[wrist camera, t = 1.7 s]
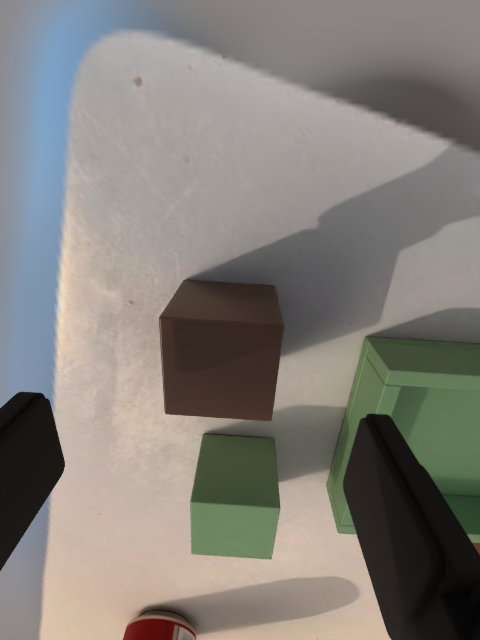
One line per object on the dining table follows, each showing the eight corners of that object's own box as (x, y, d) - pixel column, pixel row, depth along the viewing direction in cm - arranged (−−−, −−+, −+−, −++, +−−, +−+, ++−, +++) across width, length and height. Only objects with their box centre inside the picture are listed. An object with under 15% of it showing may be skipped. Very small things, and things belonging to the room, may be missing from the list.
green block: (202, 433, 19) (189, 502, 15) (274, 438, 19) (280, 508, 15) (202, 481, 21) (190, 554, 17) (267, 486, 21) (271, 560, 17)
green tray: (365, 336, 16) (389, 369, 13) (626, 353, 16) (708, 390, 13) (325, 485, 21) (337, 533, 18) (525, 499, 21) (568, 549, 18)
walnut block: (183, 279, 15) (158, 317, 11) (275, 285, 15) (284, 325, 11) (185, 357, 17) (164, 414, 13) (266, 362, 17) (271, 422, 13)
